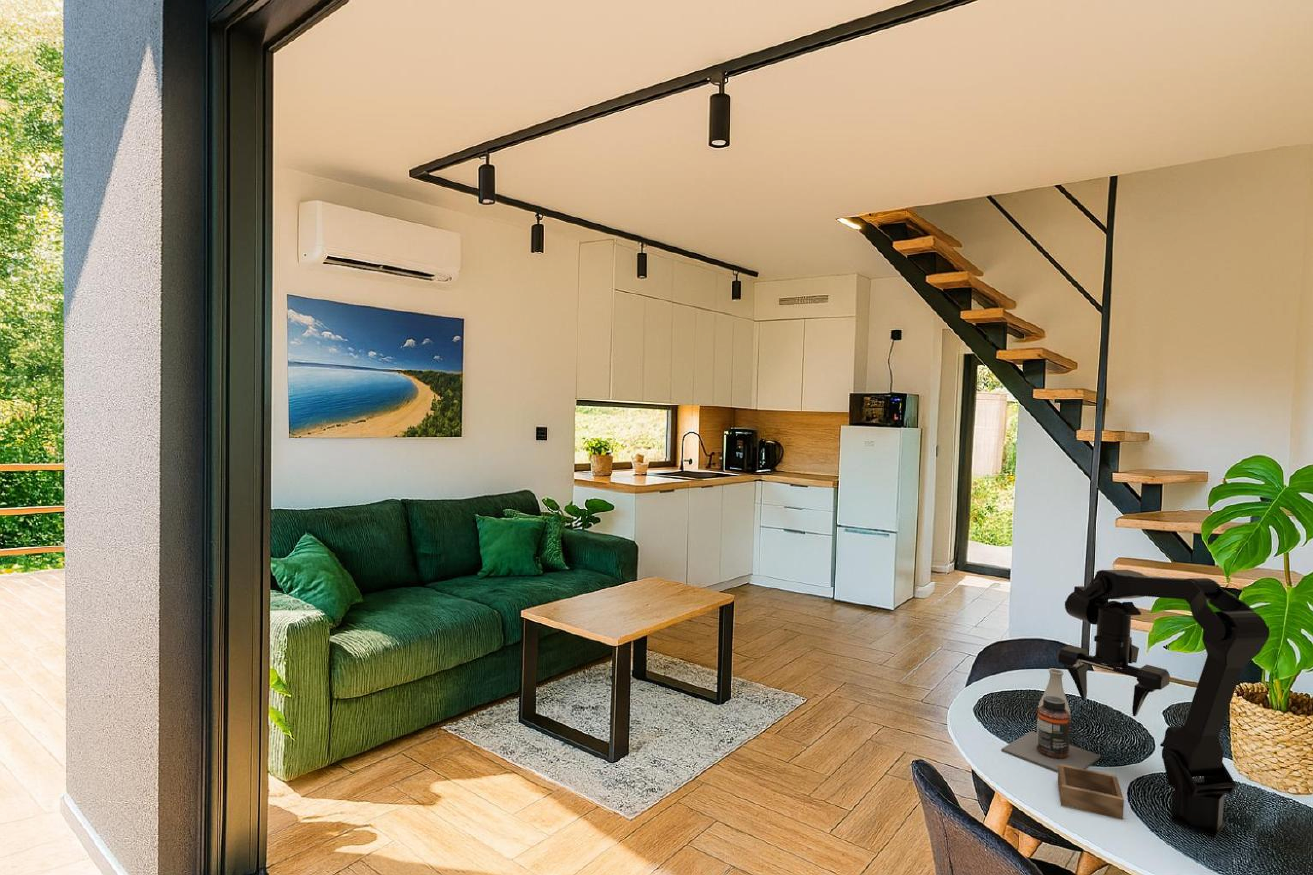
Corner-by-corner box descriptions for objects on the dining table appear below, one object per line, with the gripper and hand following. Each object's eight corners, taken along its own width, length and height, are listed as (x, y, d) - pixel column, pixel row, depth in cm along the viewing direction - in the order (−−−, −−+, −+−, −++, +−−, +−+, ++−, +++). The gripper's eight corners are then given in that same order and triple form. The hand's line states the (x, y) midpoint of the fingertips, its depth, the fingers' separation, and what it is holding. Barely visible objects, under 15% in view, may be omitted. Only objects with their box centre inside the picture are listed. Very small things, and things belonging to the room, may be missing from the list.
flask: (1075, 719, 171) (1078, 677, 170) (1042, 716, 172) (1044, 674, 172) (1065, 707, 178) (1067, 666, 178) (1033, 704, 179) (1035, 663, 179)
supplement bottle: (1053, 744, 156) (1056, 692, 156) (1075, 758, 150) (1078, 704, 150) (1029, 747, 155) (1032, 694, 154) (1050, 760, 149) (1053, 706, 149)
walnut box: (1115, 793, 138) (1116, 775, 138) (1122, 819, 129) (1124, 799, 129) (1057, 781, 142) (1058, 763, 142) (1060, 805, 133) (1061, 786, 133)
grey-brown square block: (1100, 757, 152) (1100, 755, 152) (1072, 778, 143) (1073, 775, 143) (1030, 733, 163) (1031, 731, 163) (1001, 750, 154) (1001, 748, 154)
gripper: (1180, 636, 145) (1176, 713, 146) (1079, 614, 160) (1075, 684, 160) (1162, 647, 138) (1157, 728, 139) (1057, 622, 152) (1053, 696, 153)
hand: (1108, 707), depth 148 cm, fingers open, 9 cm apart
